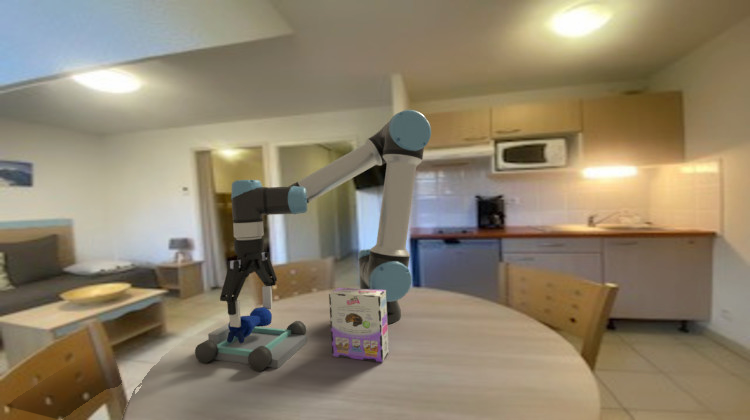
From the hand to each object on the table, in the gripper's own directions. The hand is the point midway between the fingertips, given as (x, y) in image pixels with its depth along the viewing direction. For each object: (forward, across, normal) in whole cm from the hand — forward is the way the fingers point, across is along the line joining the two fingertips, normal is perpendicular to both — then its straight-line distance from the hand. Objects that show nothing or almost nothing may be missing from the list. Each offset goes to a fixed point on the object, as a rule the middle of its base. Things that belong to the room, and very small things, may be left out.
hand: (252, 316), depth 88 cm
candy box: (+9, -4, +29) cm, 31 cm away
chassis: (+9, 0, 0) cm, 9 cm away
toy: (+4, 0, 0) cm, 4 cm away
